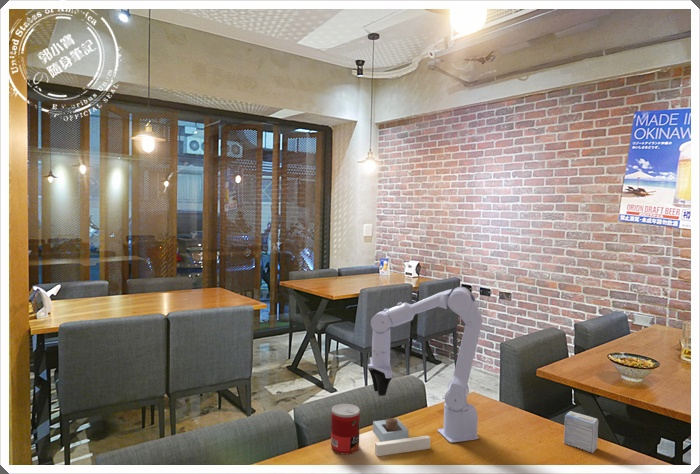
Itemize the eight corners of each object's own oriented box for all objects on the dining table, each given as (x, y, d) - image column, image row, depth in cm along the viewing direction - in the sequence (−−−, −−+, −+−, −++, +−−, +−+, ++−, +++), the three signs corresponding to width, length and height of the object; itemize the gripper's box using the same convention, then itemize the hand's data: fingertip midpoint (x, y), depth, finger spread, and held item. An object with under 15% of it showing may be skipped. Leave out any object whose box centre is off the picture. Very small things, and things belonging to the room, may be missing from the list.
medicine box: (597, 448, 130) (599, 418, 129) (593, 454, 126) (594, 423, 126) (568, 438, 135) (569, 410, 135) (563, 443, 132) (564, 414, 131)
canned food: (356, 456, 122) (357, 416, 122) (327, 452, 124) (328, 413, 123) (361, 442, 130) (362, 405, 129) (334, 439, 131) (335, 402, 131)
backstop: (427, 445, 129) (427, 435, 129) (430, 448, 127) (430, 438, 127) (374, 453, 124) (375, 442, 124) (376, 456, 122) (377, 445, 122)
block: (397, 427, 139) (397, 418, 139) (408, 440, 132) (408, 430, 131) (372, 431, 137) (373, 421, 137) (382, 444, 129) (382, 433, 129)
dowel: (394, 434, 135) (394, 417, 135) (398, 439, 132) (399, 422, 132) (383, 435, 134) (384, 418, 134) (388, 440, 131) (388, 423, 131)
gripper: (361, 344, 147) (360, 385, 148) (377, 358, 134) (376, 403, 134) (381, 343, 149) (380, 383, 150) (399, 356, 136) (398, 401, 136)
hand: (379, 393), depth 142 cm, fingers open, 3 cm apart
